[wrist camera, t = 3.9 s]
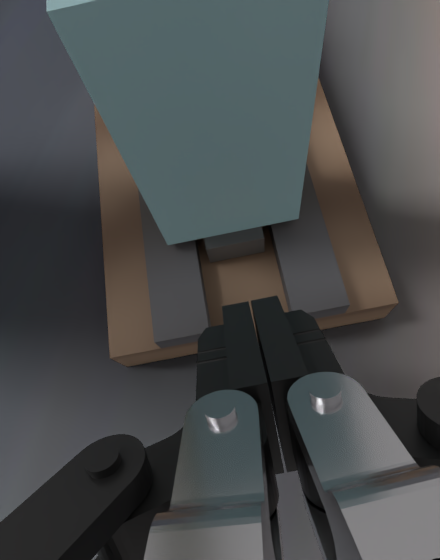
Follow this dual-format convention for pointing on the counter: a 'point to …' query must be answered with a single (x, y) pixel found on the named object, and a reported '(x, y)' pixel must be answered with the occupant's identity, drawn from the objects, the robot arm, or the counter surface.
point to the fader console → (238, 258)
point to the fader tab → (204, 106)
